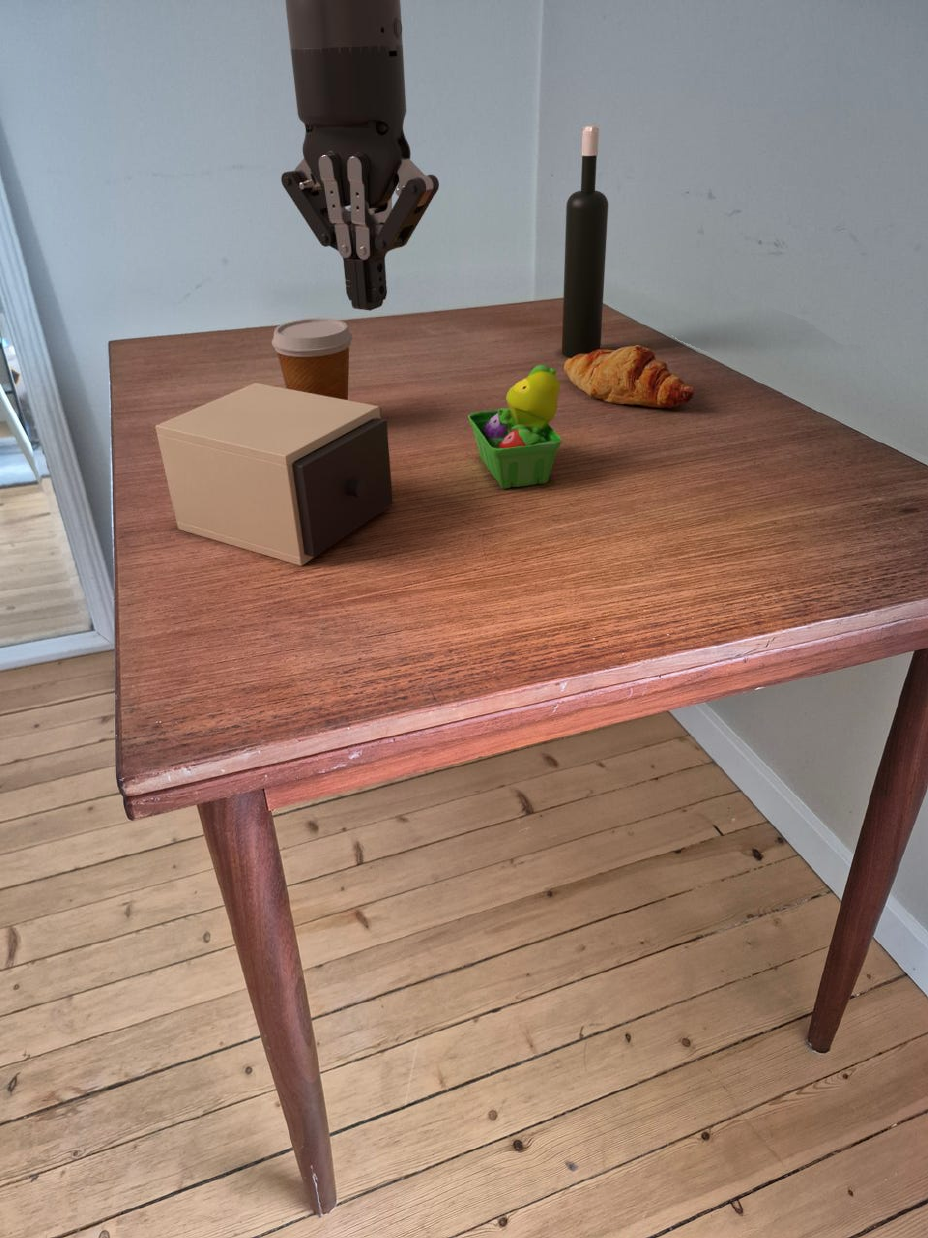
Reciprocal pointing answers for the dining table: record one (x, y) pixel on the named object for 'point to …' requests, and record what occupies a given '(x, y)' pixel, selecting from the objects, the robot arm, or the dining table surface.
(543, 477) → the fruit basket
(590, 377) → the croissant
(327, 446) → the pulled-out nightstand drawer
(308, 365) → the disposable coffee cup
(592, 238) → the wine bottle
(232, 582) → the dining table surface
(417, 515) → the dining table surface
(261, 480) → the cabinet
